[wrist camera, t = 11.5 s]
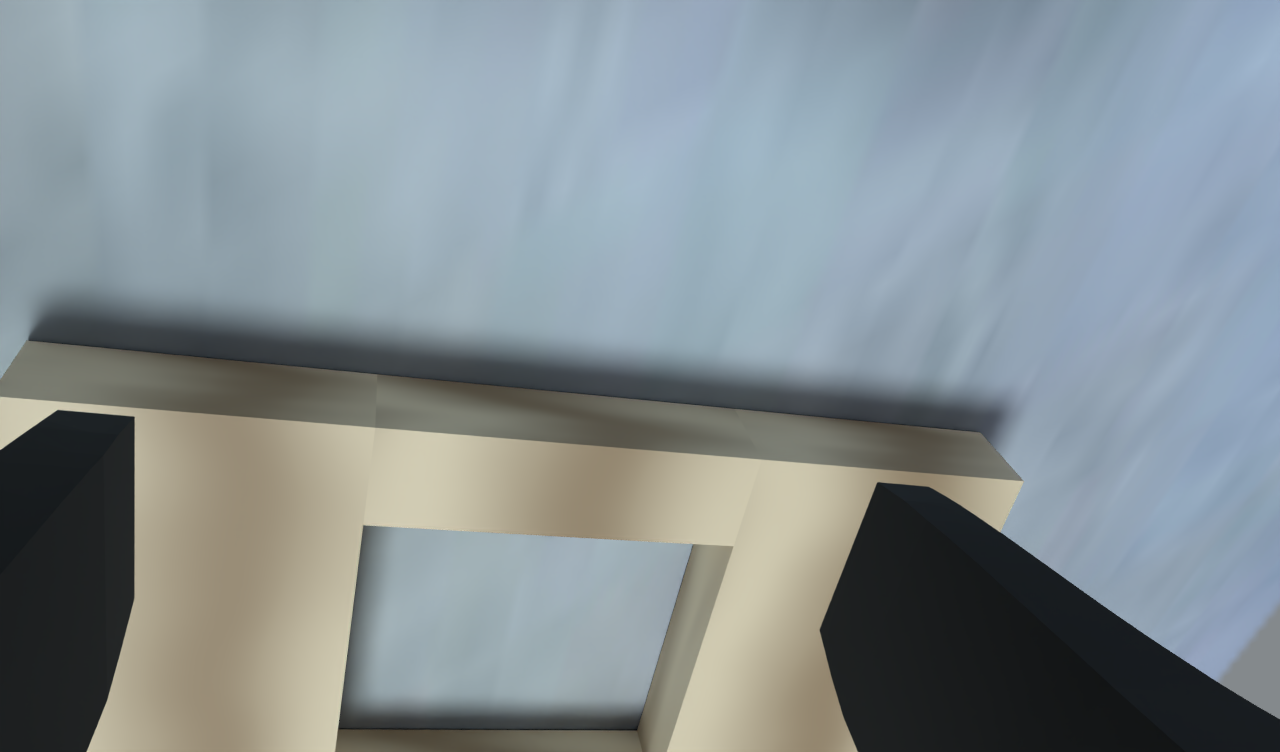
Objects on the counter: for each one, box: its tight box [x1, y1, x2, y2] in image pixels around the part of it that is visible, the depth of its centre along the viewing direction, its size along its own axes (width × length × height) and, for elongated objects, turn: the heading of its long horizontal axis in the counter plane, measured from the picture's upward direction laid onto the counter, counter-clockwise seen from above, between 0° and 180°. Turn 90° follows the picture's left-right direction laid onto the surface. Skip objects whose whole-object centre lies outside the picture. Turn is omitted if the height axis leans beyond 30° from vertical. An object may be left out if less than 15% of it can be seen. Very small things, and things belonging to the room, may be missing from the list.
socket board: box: [0, 341, 1024, 752], centre depth 23 cm, size 20×12×2 cm, turn 77°
